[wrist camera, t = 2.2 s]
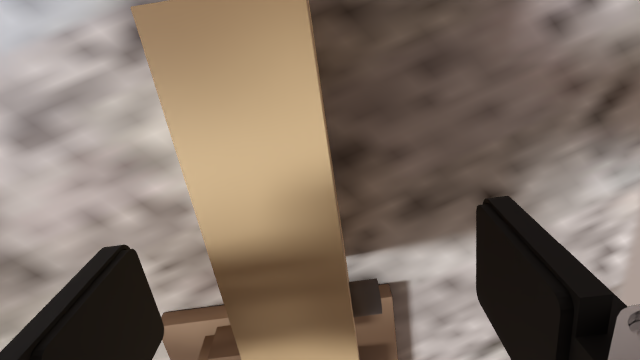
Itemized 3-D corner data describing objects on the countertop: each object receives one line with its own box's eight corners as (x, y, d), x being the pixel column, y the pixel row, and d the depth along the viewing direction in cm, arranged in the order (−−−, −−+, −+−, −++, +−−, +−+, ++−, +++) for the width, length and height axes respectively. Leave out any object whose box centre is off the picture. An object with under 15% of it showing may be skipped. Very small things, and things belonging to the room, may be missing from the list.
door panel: (230, 7, 15) (130, 6, 7) (334, -10, 15) (361, -32, 7) (286, 263, 20) (268, 446, 12) (365, 253, 20) (403, 431, 11)
